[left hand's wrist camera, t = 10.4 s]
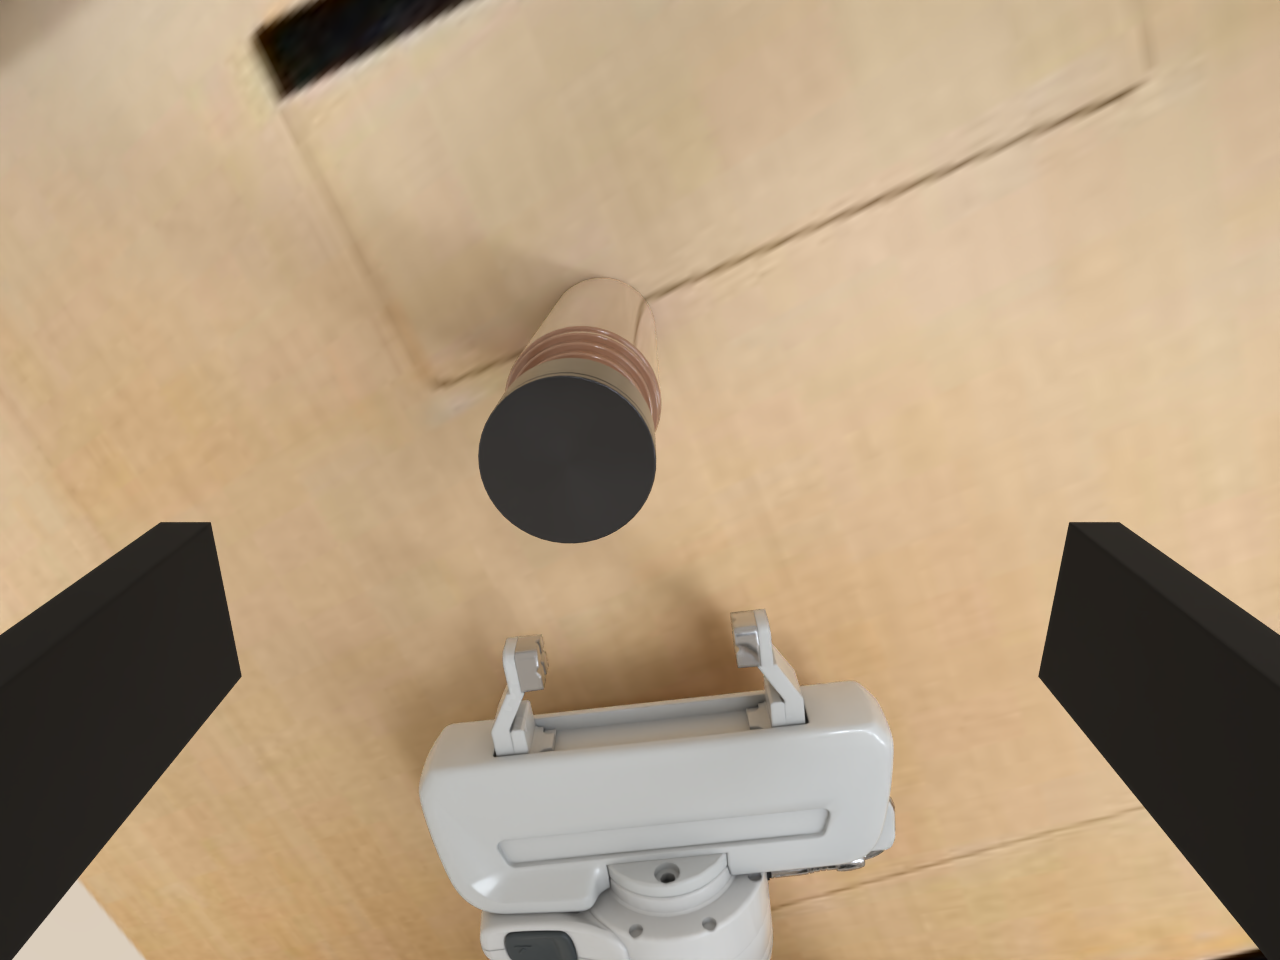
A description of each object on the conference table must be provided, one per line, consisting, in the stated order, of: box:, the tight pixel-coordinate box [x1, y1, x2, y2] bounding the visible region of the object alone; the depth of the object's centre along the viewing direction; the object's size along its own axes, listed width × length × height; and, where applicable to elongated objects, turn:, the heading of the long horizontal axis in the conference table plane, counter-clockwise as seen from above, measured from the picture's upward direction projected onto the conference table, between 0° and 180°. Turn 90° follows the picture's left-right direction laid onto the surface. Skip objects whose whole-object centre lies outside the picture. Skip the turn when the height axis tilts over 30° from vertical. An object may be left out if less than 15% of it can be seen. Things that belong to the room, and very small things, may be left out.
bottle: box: [505, 278, 661, 432], centre depth 27 cm, size 5×5×17 cm
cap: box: [478, 358, 656, 543], centre depth 20 cm, size 4×4×2 cm
